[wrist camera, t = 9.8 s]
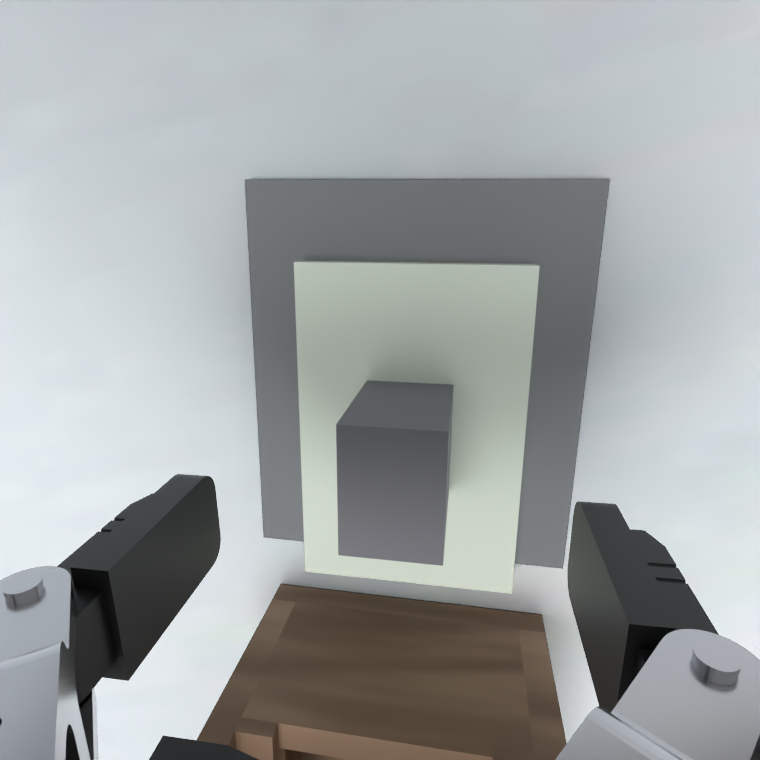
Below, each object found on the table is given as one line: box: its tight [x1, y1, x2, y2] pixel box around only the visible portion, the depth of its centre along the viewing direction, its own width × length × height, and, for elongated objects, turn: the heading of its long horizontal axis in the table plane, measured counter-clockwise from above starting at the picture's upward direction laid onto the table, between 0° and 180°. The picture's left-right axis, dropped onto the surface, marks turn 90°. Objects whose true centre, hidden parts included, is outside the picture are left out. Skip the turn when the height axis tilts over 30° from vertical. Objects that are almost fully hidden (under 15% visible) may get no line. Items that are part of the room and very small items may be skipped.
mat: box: [245, 179, 610, 568], centre depth 19 cm, size 14×12×1 cm
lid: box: [294, 261, 540, 594], centre depth 17 cm, size 12×8×6 cm, turn 0°
